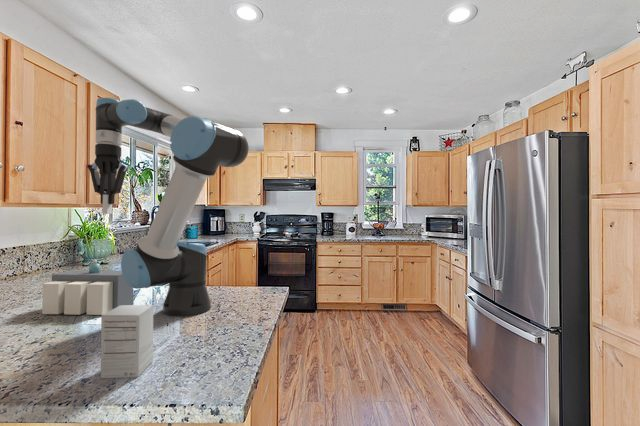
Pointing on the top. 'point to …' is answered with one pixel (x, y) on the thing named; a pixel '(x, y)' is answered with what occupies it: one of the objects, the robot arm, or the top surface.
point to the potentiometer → (94, 267)
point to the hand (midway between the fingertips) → (107, 213)
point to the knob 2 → (99, 297)
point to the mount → (78, 288)
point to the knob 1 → (54, 297)
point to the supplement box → (126, 341)
